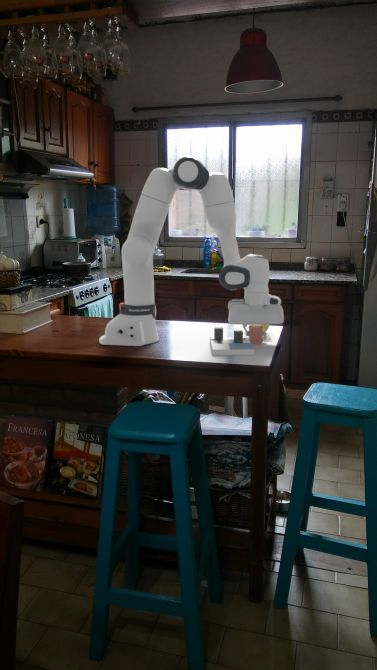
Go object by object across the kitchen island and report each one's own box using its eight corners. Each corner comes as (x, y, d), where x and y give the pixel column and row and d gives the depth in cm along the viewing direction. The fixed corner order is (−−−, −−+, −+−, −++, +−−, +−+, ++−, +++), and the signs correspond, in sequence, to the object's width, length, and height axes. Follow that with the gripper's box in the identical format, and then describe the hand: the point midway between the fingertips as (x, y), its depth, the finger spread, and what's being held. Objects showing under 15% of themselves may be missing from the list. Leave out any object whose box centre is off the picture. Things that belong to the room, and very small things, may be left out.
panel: (212, 355, 182) (212, 348, 181) (209, 343, 199) (210, 337, 198) (254, 354, 182) (254, 348, 182) (247, 342, 199) (247, 336, 198)
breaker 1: (214, 339, 194) (214, 328, 194) (214, 338, 197) (214, 327, 196) (223, 339, 195) (223, 328, 194) (222, 338, 197) (222, 327, 196)
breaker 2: (234, 343, 189) (234, 331, 188) (233, 341, 192) (233, 330, 191) (242, 343, 189) (242, 331, 188) (241, 341, 192) (242, 330, 191)
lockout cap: (250, 343, 198) (250, 326, 197) (248, 340, 202) (248, 324, 201) (262, 343, 198) (262, 326, 197) (260, 340, 203) (260, 324, 201)
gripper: (228, 300, 193) (228, 337, 197) (285, 300, 194) (284, 337, 197) (227, 297, 200) (226, 334, 203) (282, 297, 200) (280, 333, 203)
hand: (255, 335), depth 200 cm, fingers closed on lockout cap, 4 cm apart
